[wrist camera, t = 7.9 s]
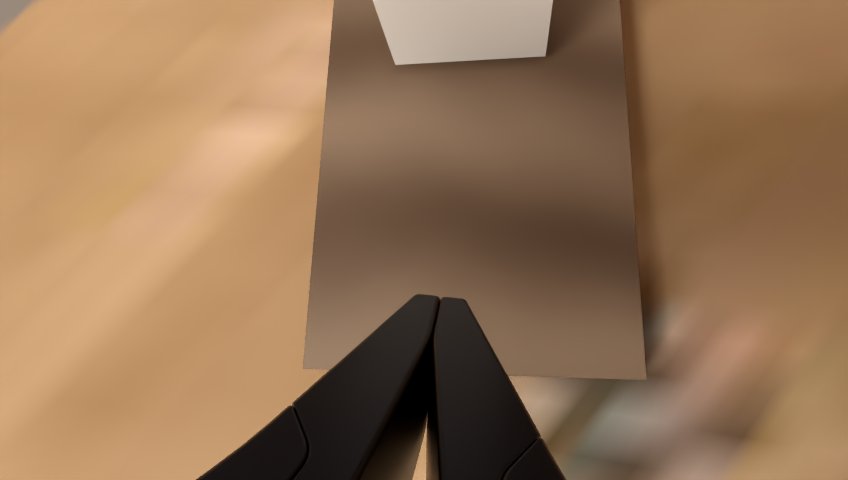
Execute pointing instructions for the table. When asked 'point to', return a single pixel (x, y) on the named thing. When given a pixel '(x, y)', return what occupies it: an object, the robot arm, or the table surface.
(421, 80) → the board
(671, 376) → the table surface
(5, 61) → the table surface
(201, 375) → the table surface
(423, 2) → the plug
